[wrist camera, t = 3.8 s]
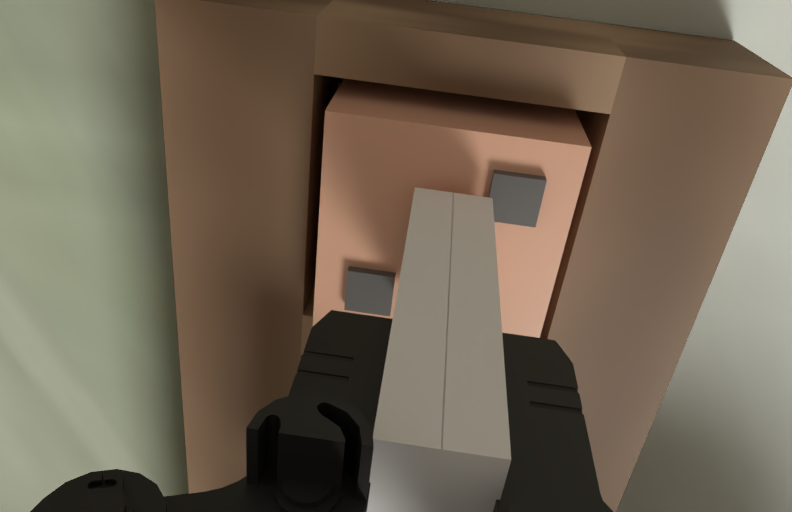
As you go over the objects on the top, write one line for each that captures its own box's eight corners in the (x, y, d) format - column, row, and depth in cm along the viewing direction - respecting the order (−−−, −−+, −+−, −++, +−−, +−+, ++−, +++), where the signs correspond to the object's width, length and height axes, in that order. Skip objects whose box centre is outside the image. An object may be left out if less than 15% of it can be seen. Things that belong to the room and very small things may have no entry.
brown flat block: (227, 568, 26) (199, 649, 24) (210, -29, 15) (153, -6, 13) (529, 614, 26) (537, 702, 23) (734, 40, 15) (794, 79, 12)
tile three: (335, 258, 18) (310, 331, 15) (348, 69, 15) (323, 114, 12) (524, 285, 18) (534, 363, 15) (569, 99, 15) (593, 151, 12)
